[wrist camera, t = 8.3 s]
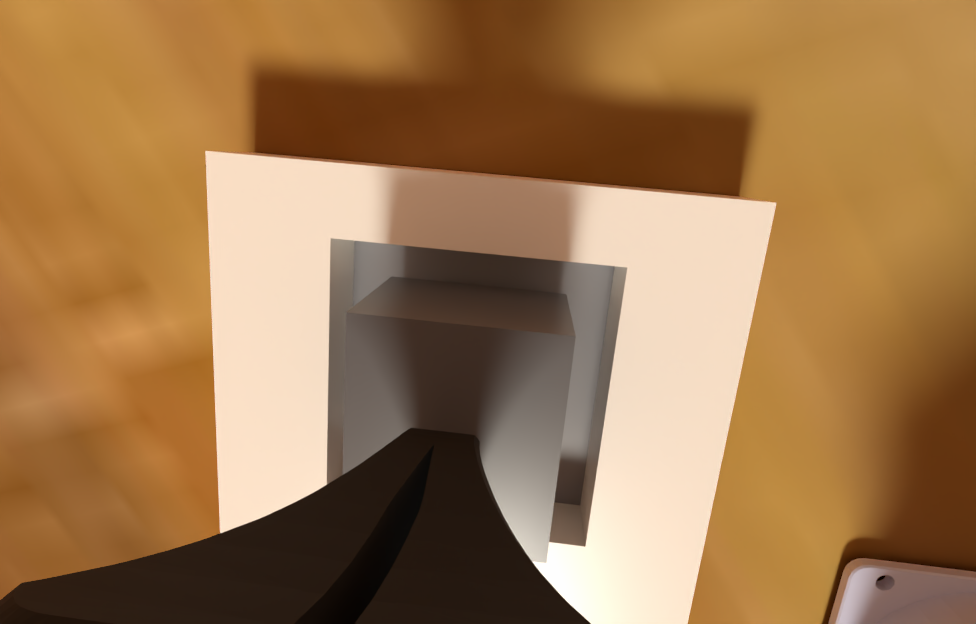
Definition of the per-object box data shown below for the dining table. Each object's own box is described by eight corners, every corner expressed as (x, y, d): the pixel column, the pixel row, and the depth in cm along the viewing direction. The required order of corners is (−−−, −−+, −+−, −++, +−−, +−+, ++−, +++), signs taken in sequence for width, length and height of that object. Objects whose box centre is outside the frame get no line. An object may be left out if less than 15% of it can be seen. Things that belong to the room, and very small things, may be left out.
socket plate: (739, 196, 15) (791, 205, 12) (653, 637, 19) (676, 731, 16) (254, 152, 16) (185, 150, 13) (261, 584, 19) (209, 664, 16)
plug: (563, 283, 15) (575, 336, 11) (543, 452, 17) (546, 563, 12) (401, 267, 16) (346, 312, 11) (394, 435, 17) (341, 537, 12)
